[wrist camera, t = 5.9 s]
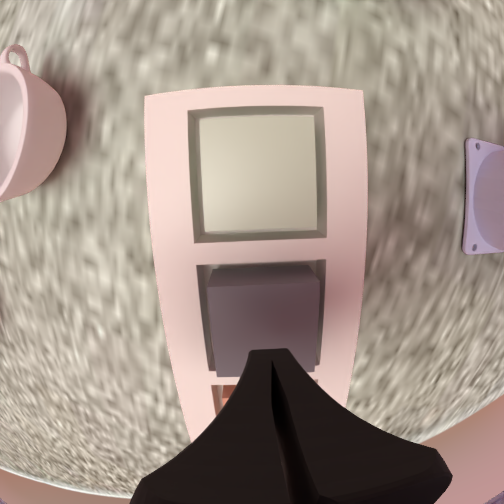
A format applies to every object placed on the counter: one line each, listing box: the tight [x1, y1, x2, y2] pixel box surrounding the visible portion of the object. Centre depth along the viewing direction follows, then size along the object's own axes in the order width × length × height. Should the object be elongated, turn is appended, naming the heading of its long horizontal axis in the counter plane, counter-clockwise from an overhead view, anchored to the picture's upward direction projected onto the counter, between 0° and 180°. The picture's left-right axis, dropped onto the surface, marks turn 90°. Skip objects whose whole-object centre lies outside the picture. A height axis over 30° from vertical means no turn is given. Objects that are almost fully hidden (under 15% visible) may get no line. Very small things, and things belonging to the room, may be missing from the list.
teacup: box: [0, 44, 67, 202], centre depth 11 cm, size 10×8×5 cm
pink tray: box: [145, 85, 368, 443], centre depth 16 cm, size 10×22×3 cm, turn 2°
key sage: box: [199, 116, 317, 232], centre depth 13 cm, size 5×5×2 cm
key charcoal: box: [207, 265, 320, 377], centre depth 14 cm, size 5×5×2 cm
